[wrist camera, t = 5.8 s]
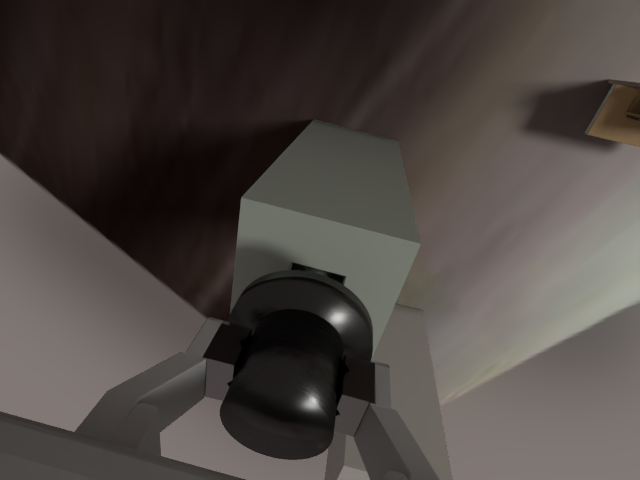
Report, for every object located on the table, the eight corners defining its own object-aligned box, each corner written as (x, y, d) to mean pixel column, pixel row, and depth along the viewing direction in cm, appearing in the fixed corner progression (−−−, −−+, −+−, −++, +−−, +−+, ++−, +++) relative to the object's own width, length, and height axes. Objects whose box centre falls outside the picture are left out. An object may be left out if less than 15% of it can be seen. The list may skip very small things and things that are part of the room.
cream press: (423, 310, 35) (455, 496, 21) (401, 355, 39) (415, 541, 24) (357, 293, 35) (343, 465, 21) (341, 339, 39) (320, 514, 24)
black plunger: (384, 165, 24) (398, 393, 8) (364, 228, 26) (344, 495, 11) (313, 147, 24) (185, 336, 8) (299, 211, 26) (184, 450, 11)
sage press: (397, 140, 27) (420, 243, 13) (373, 216, 31) (368, 365, 16) (314, 119, 28) (241, 197, 13) (299, 196, 31) (228, 327, 16)
